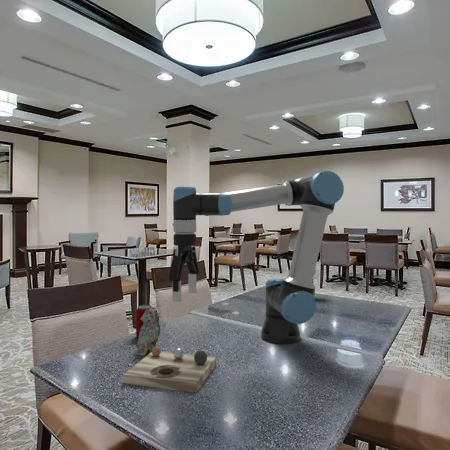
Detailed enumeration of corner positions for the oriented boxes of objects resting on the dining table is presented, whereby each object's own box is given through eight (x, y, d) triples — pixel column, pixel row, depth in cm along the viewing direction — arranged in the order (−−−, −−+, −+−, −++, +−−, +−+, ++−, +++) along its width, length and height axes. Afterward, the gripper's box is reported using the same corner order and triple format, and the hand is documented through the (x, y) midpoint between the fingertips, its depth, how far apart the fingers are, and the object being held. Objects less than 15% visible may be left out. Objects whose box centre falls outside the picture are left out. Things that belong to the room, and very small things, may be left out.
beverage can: (149, 340, 138) (149, 309, 138) (133, 339, 139) (132, 308, 139) (156, 334, 144) (156, 304, 144) (140, 333, 146) (140, 304, 146)
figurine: (133, 348, 129) (132, 307, 129) (157, 344, 133) (157, 304, 133) (137, 356, 121) (136, 312, 121) (163, 352, 125) (162, 310, 125)
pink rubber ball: (162, 354, 117) (162, 345, 117) (158, 358, 114) (158, 348, 114) (154, 353, 118) (154, 344, 118) (150, 357, 115) (149, 347, 115)
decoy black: (208, 362, 111) (208, 349, 111) (204, 367, 107) (204, 354, 107) (196, 360, 112) (196, 348, 112) (192, 366, 108) (192, 352, 108)
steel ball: (185, 357, 114) (185, 346, 114) (181, 361, 111) (181, 350, 111) (175, 356, 115) (175, 345, 115) (171, 360, 112) (171, 349, 112)
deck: (153, 357, 121) (153, 350, 120) (216, 364, 115) (216, 357, 115) (123, 383, 102) (123, 374, 102) (196, 392, 96) (195, 383, 96)
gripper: (188, 231, 132) (188, 288, 133) (157, 235, 108) (157, 304, 109) (207, 231, 130) (207, 290, 131) (180, 235, 106) (180, 306, 107)
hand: (185, 296), depth 120 cm, fingers open, 13 cm apart
